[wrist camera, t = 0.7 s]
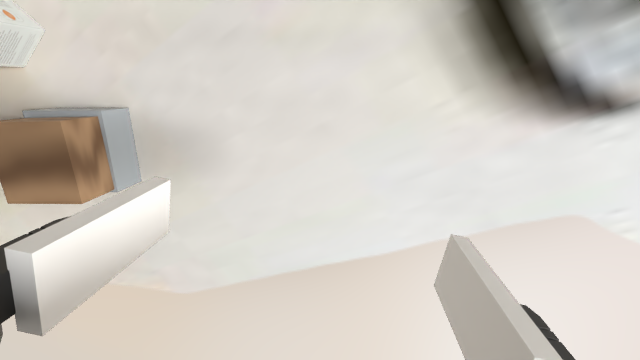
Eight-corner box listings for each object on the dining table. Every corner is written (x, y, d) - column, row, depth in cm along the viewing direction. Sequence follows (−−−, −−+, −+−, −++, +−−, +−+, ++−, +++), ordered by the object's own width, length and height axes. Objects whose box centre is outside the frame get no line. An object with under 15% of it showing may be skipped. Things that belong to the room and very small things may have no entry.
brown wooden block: (27, 117, 37) (-20, 122, 32) (97, 116, 36) (60, 121, 32) (48, 189, 40) (7, 203, 35) (114, 189, 39) (82, 203, 34)
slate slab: (59, 107, 42) (22, 110, 37) (129, 107, 41) (100, 110, 36) (76, 179, 45) (44, 190, 40) (142, 180, 44) (117, 192, 39)
